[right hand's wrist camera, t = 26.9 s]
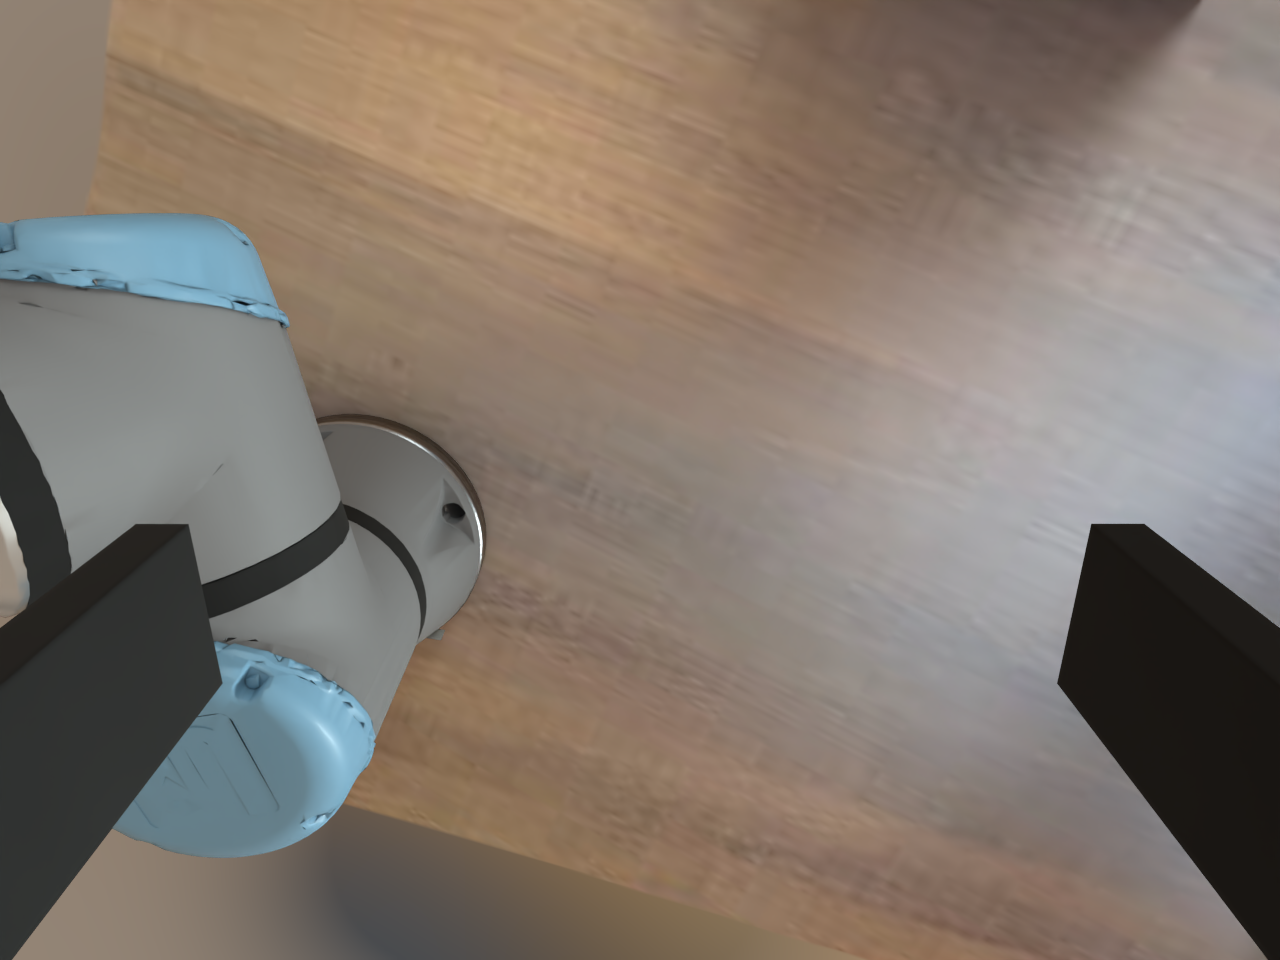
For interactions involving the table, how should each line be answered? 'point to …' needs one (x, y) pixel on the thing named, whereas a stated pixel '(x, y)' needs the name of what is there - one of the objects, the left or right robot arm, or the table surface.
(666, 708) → the table surface
